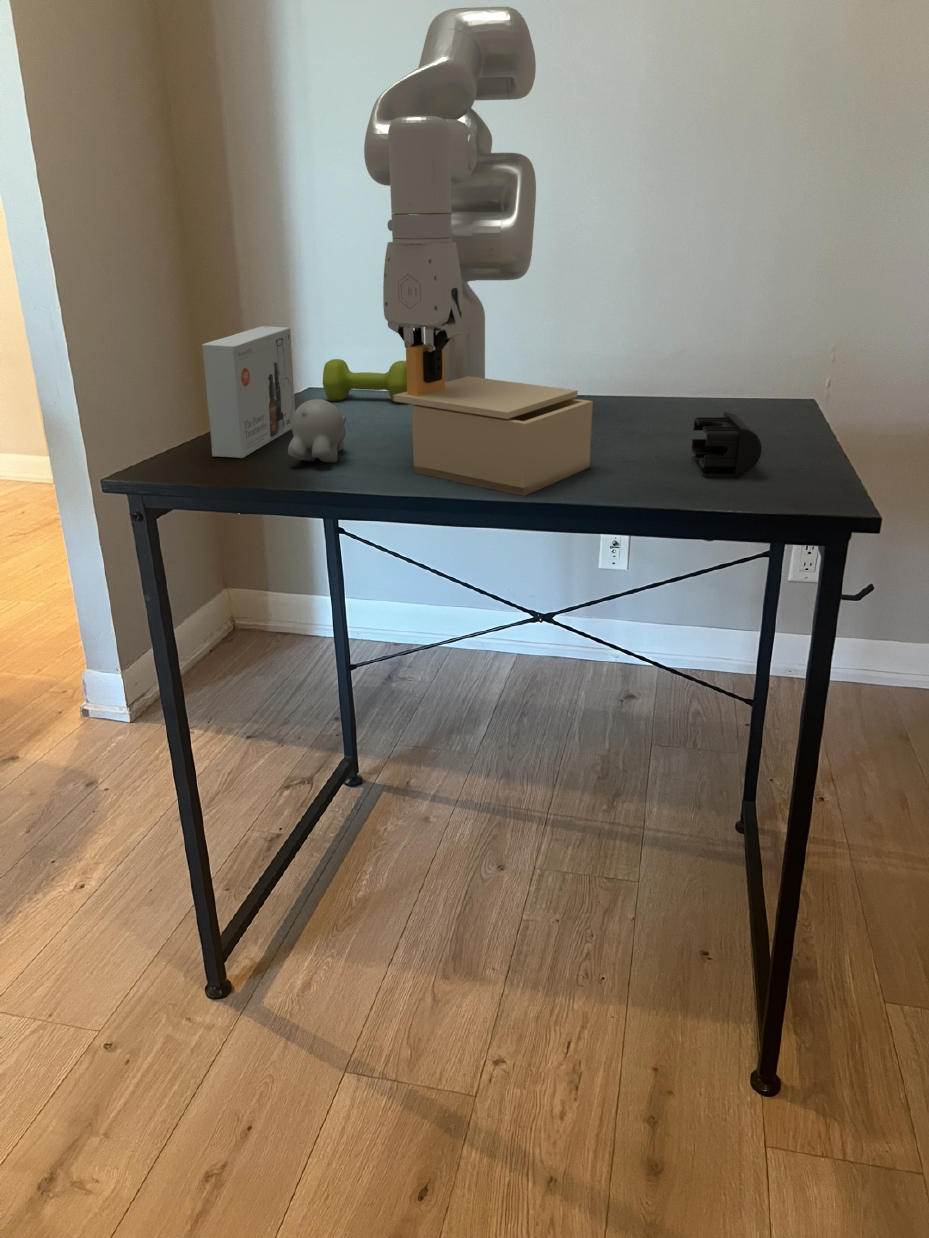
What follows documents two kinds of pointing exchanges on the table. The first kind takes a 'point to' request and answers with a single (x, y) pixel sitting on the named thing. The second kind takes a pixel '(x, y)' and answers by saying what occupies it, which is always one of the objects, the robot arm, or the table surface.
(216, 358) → the skincare box
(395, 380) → the dumbbell
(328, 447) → the white animal toy
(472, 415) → the carton
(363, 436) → the table surface
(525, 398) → the flap
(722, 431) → the end cap
